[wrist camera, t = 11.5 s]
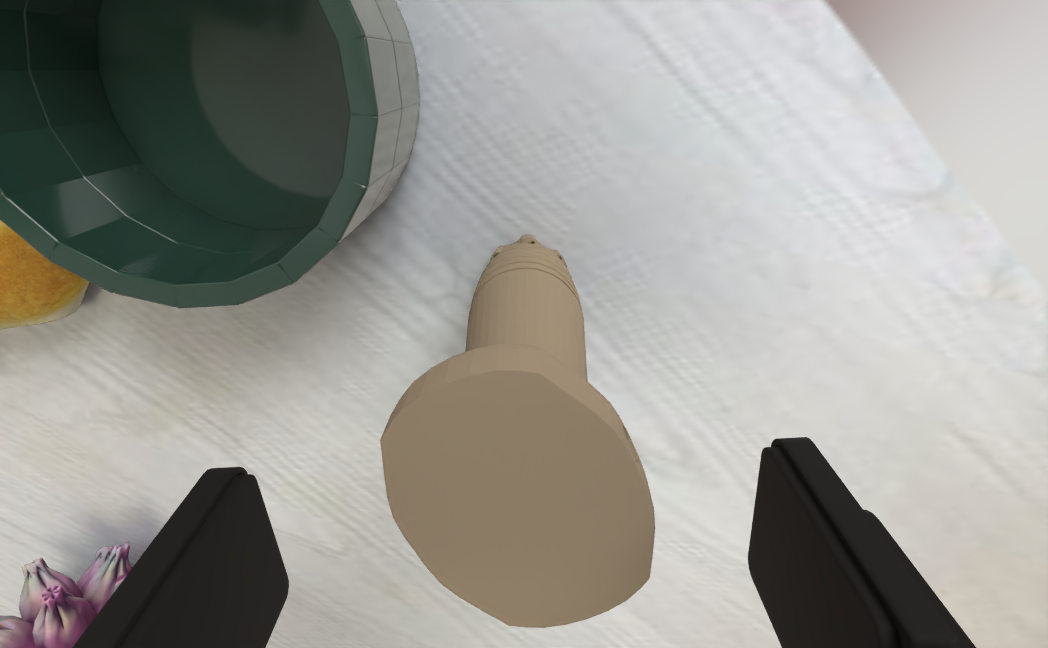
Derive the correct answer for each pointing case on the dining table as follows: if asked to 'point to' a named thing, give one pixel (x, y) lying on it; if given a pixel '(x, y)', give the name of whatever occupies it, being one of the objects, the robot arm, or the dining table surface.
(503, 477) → the handle
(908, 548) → the dining table surface
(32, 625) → the flower
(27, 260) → the bread roll
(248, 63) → the pot
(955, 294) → the dining table surface
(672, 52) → the dining table surface
